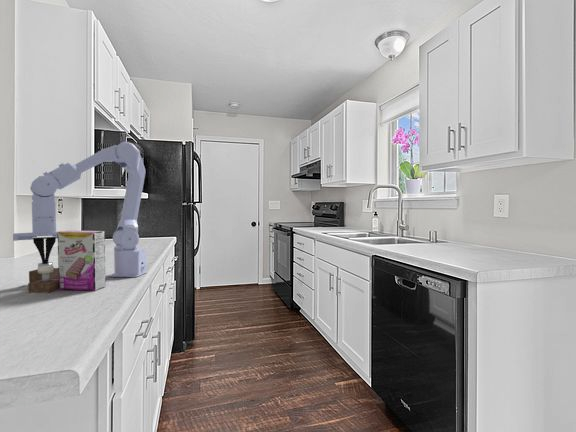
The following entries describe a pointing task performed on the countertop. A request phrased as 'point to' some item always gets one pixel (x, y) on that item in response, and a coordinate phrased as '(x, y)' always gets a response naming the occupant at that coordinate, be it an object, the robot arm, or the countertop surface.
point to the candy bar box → (81, 260)
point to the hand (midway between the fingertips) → (45, 263)
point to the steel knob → (45, 264)
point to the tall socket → (36, 276)
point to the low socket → (43, 286)
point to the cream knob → (45, 272)
